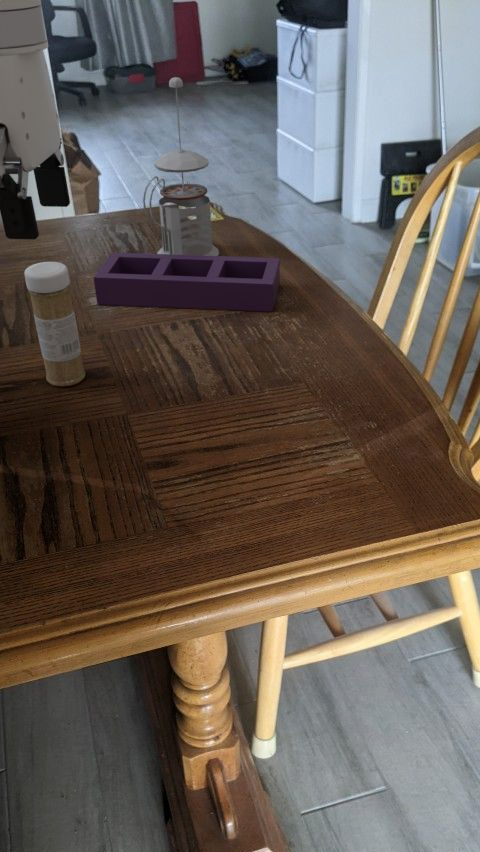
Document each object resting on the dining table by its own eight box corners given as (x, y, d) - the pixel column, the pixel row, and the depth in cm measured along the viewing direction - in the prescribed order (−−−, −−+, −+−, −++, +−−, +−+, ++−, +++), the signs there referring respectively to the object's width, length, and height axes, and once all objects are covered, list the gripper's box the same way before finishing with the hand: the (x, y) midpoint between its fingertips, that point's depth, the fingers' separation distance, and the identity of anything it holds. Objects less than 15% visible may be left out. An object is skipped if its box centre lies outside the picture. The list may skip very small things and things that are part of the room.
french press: (231, 254, 122) (225, 77, 107) (170, 273, 116) (154, 89, 101) (195, 237, 128) (184, 68, 113) (135, 254, 122) (114, 78, 107)
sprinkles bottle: (77, 365, 94) (58, 257, 86) (91, 381, 91) (73, 270, 83) (40, 375, 92) (17, 265, 84) (53, 392, 89) (31, 279, 81)
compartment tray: (273, 312, 105) (272, 283, 103) (97, 304, 108) (93, 277, 105) (279, 284, 113) (279, 258, 110) (115, 278, 115) (111, 252, 113)
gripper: (-1, 18, 77) (34, 194, 87) (-82, 46, 63) (-30, 251, 74) (73, 17, 76) (99, 195, 87) (6, 46, 63) (47, 253, 73)
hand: (40, 221), depth 80 cm, fingers open, 9 cm apart
